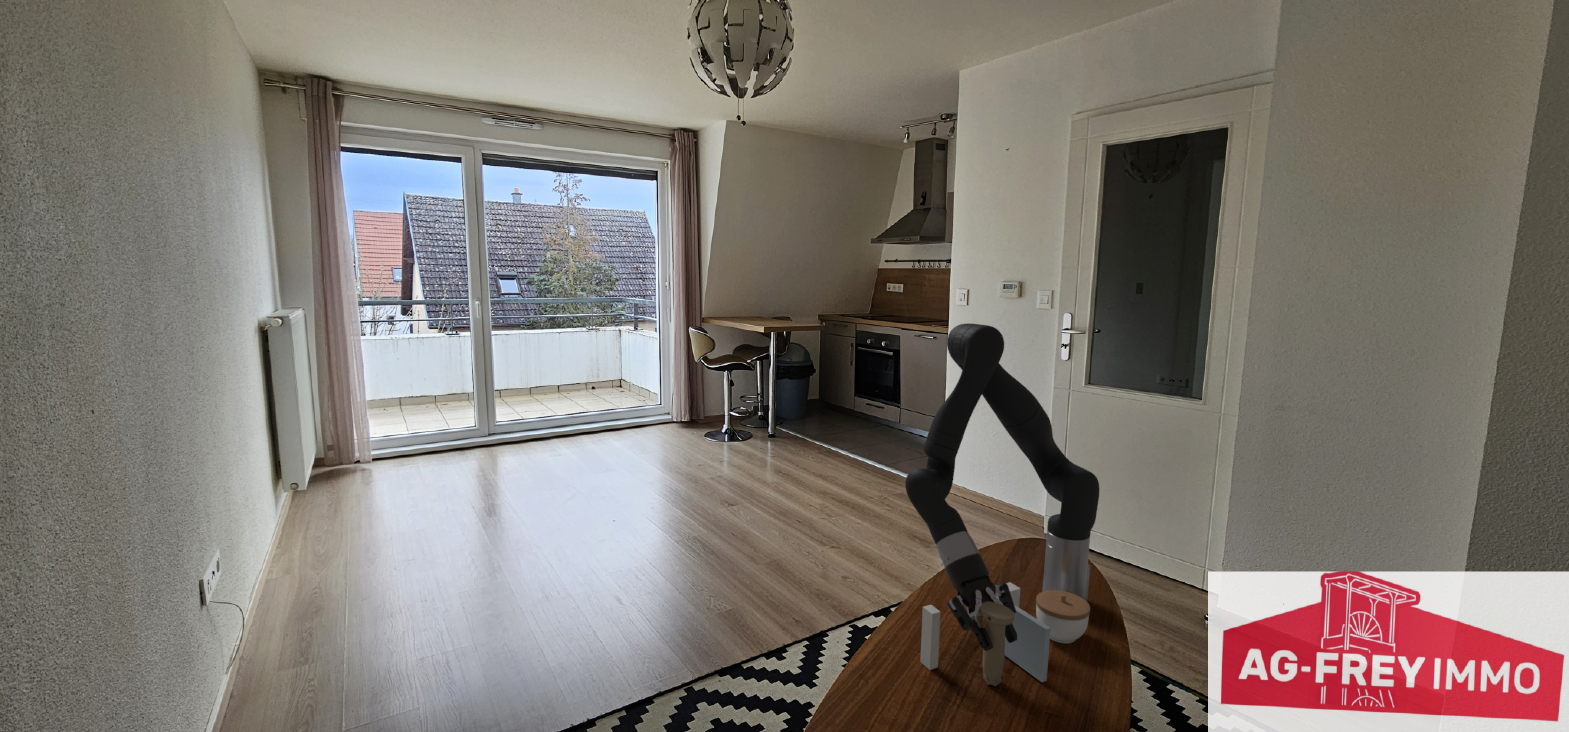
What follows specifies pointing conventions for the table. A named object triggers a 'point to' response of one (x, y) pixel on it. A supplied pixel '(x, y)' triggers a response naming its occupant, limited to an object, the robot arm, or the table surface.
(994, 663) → the tan tapered grip
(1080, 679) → the table surface
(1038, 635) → the door
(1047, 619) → the lidded jar
